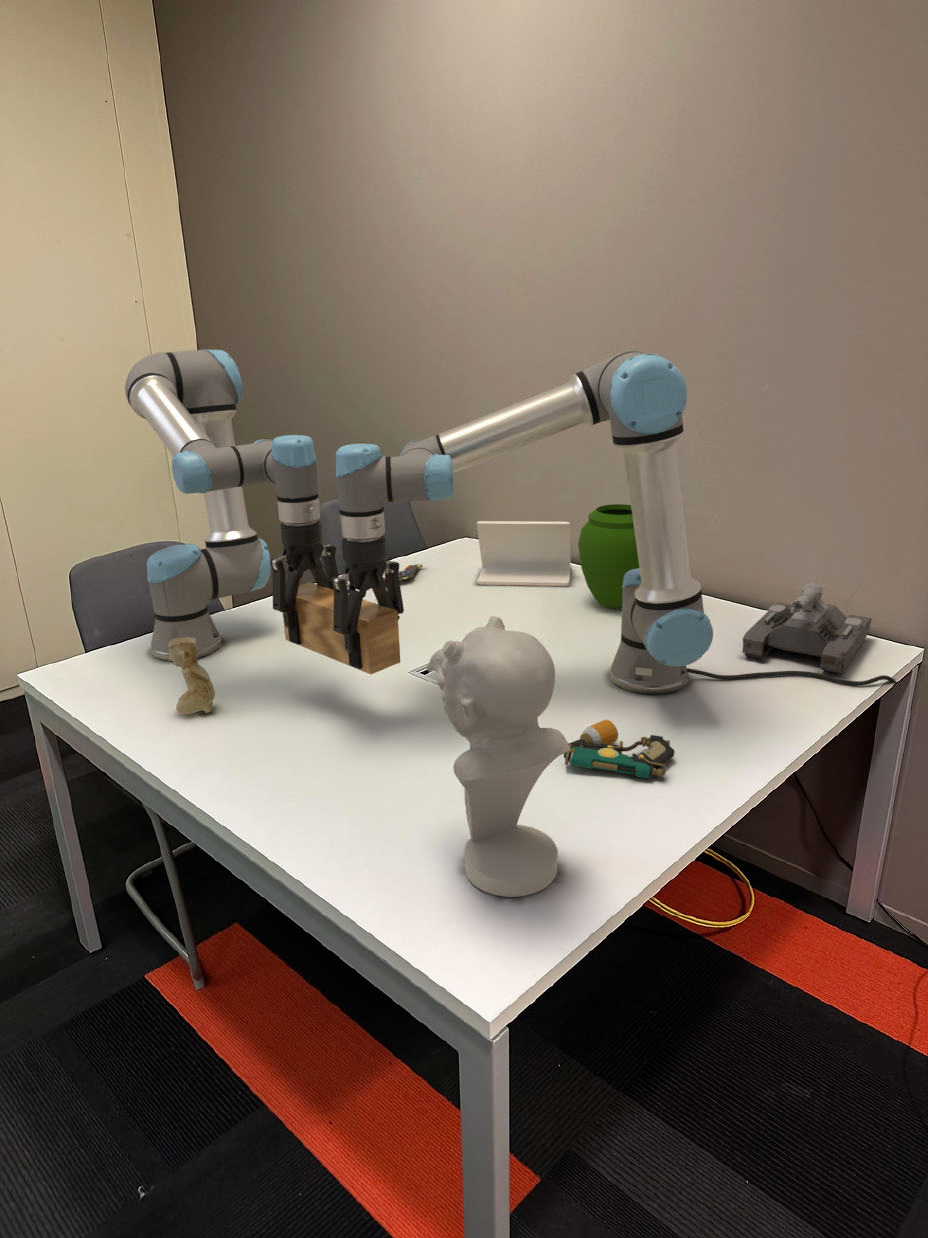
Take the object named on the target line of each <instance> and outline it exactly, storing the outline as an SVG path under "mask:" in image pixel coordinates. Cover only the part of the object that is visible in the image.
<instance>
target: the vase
mask: <svg viewBox="0 0 928 1238" xmlns="http://www.w3.org/2000/svg"><path fill="white" fill-rule="evenodd" d="M587 516H588V517H587V518H588V521H587V522H586V523H585V524H584V525H583V526H582V527H581V529H580V534H579V538H578V541H577V546H578V554H579V562H580V569H581V571H582V574H583V577H584V580H585V583H586V585H587V588H588V590H589V591H590V594H592V597H593V598H594V600H595V601H596V602H597V603H598V604H599V605H600V606H602V607H604V608H606V609H609V610H622V596H623V588H622V585H623V580H624V575H625V574H626V573H627V572H628V571H630V570H633V569H638V568H640V567H639V560H638V553H637V545H636V538H635V531H634V524H633V516H632V509H631V504H622V503H621V504H619V503H616V504H615V503H614V504H604V505H601V506H598V507H597V508H595V509H594V510H592V511H591V512H590V513H589V514H588V515H587Z"/></svg>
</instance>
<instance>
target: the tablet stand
mask: <svg viewBox="0 0 928 1238" xmlns="http://www.w3.org/2000/svg"><path fill="white" fill-rule="evenodd" d="M476 531H477V537H478V544H479V551H480V557H481V558H480V559H481V570H480V573H479V575H478V577H477V580H476V581H477V582H476V584H478V585H484V586H485V585H486V586H487V585H489V586H490V585H491V586H541V587H542V586H543V587H544V586H545V587H546V586H547V587H549V586H551V587H556V586H557V587H569V586H570V580H571V579H570V578H571V565H572V564H571V560H572V558H571V522H569V521H537V520H536V521H529V520H528V521H525V520H524V521H523V520H522V521H521V520H520V521H519V520H517V521H516V520H515V521H514V520H510V521H509V520H505V521H504V520H477V522H476Z"/></svg>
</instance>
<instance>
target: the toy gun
mask: <svg viewBox="0 0 928 1238" xmlns="http://www.w3.org/2000/svg"><path fill="white" fill-rule="evenodd" d="M422 568H424V565H423V563H416V564H415V563H414V564H410V565H407V566H406V567H405V568H404V569H403V570H399V574H398V576H399V582H400V581H401V582H402V581H406V580H411V578H412V577H414V575H415V574H416V572H418V571H419V570H420V569H422ZM383 578H384V581H385V577H383ZM385 583H386V581H385Z"/></svg>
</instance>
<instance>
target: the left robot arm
mask: <svg viewBox="0 0 928 1238" xmlns="http://www.w3.org/2000/svg"><path fill="white" fill-rule="evenodd" d="M124 385H125V386H124V391H125V398H126V399H127V403H128V405H129V406H130V408H131V409H132V410H133V412H134V413H135V414H136V415H137V416H138V417H140V418H142V419H144V420H146V421H147V423H148V424H149V425H150V427H151V428H152V429H153V431H154V433H155V434H156V435H157V437H158V438H159V439H160V440H161V442H162V443H163V445H164V446H165V447H166V449H167V450H168V452H169V453H170V454H171V457H172V459H171V470H172V471H171V473H172V477H173V480H174V482H175V485H176V487H177V489H178V490H179V492H181V493H183V494H186V495H187V494H188V495H189V494H190V495H191V494H203V497H204V498H203V499H204V503H205V508H206V515H207V520H208V526H209V533H208V534H207V536H206V537H205V538H204V542H205V548H200V547H199V545H198V544H196V543H184V544H175V545H171V546H167V547H164V548H162V549H160V550H157V551H155V552H154V553H153V554H152V555H150V556H149V557H148V559H147V561H146V574H147V575H146V576H147V578H146V579H147V582H148V586H149V591H150V598H151V603H152V609H153V615H154V626H153V631H152V636H151V642H150V650H151V654H152V656H153V657H154V658H156V659H158V660H162V661H169V662H172V661H171V660H169V647H168V645H169V642H170V640H171V639H174V638H181V637H193V638H196V646H197V659H200V658H203V657H206V656H208V655H211V654H213V653H215V652H216V651H218V650H219V649H220V648H221V646H222V638H221V637H222V636H221V634H220V632H219V630H218V628H217V626H216V624H215V622H214V621H213V619H212V616H211V615H210V612H209V604H208V601H212V600H218V599H222V598H226V597H231V596H235V595H241V594H249V593H251V592H254V591H258V590H260V589H263V588H264V587H265V586H266V585H267V584H268V582H269V579H270V576H271V570H272V609H273V610H274V611H277V612H279V613H282V618H283V617H284V620H283V626H284V625H285V627H286V628H288V633H289V641H288V642H290V643H292V644H295V645H297V646H300V645H299V644H301V639H300V629H299V619H298V612H297V611H295V610H294V607H295V602H296V596H297V592H298V588H299V586H300V582H301V579H302V578H303V577H304V576H303V575H304V572H306V571H308V570H309V571H310V573H311V575H312V577H313V580H314V581H315V584H317V585H319V586H322V587H326V588H329V589H332V590H334V589H333V585H332V582H331V579H332V578H333V577H337V578H338V577H340V575H339V571H338V565H337V559H336V552H337V547H336V545H332V544H329V543H324V544H323V543H322V540H323V529H322V527H323V526H322V522H321V520H320V519H321V508H320V497H319V483H318V472H317V471H318V470H317V455H316V452H315V445H314V440H313V439H312V437H310V436H308V435H304V434H303V435H301V434H287V435H281V436H277V437H274V438H273V439H269V438H268V439H267V438H265V439H263V438H262V439H257V440H256V441H254V442H251V443H248V444H242V445H241V444H240V445H236V442H235V435H234V429H233V423H232V419H233V417H234V416H235V414H236V413H237V411H238V410H237V405H238V404H239V403H241V402H242V401H243V396H244V394H243V391H244V386H243V381H242V377H241V373H240V371H239V368H238V366H237V364H236V361H235V360H234V359H233V358H232V357H231V355H230V354H229V353H228V352H227V351H225V350H222V349H198V350H183V351H182V350H181V351H169V352H154V353H152V354H151V353H150V354H148V355H145V356H144V357H142V358H141V359H140V360H138V361H137V362H136V363H135V364H134V365H133V366H132V367H131V369H130V370H129V372H128V374H127V377H126V380H125V384H124ZM270 483H271V484H274V485H275V490H276V499H277V501H276V502H277V510H278V511H277V512H278V520H279V521H280V522H281V523H280V525H279V530H280V538H281V539H280V540H281V543H282V546H283V550H282V555H281V556H279V557H277V558H274V557H273V558H271V554H270V550H269V549H268V544H267V542H265V540H264V539H262V538H259V537H258V533H257V531H256V530H254V529H253V528H251V527H250V526H249V525H250V524H249V519H248V514H247V507H246V502H245V501H246V500H245V495H244V488H243V487H249V486H256V485H261V484H270ZM321 557H322V561H321ZM322 562H323V564H322ZM286 563H287V565H286Z"/></svg>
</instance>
